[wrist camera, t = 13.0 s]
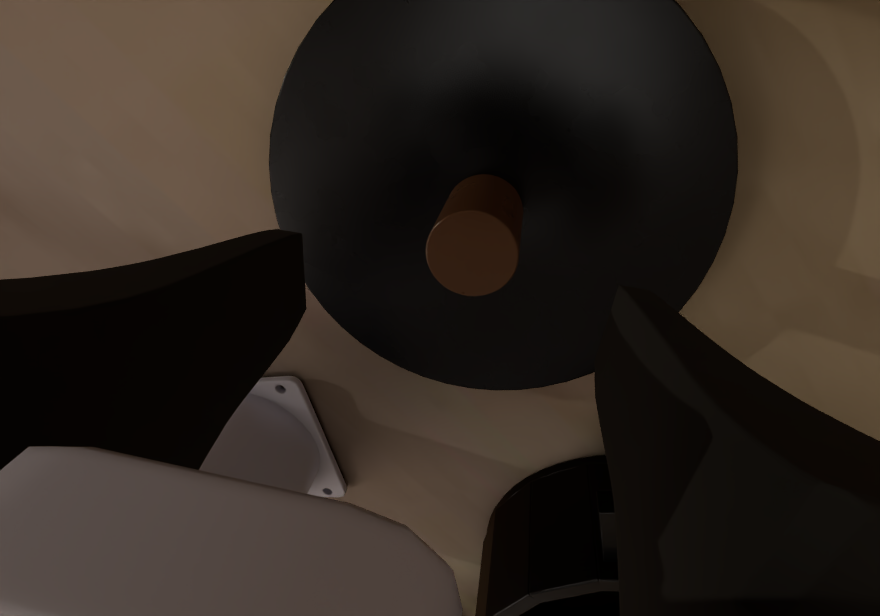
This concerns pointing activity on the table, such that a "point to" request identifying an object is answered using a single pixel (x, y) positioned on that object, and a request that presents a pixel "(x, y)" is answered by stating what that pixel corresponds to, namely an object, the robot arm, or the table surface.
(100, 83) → the table surface
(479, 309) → the lid
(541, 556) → the pot
